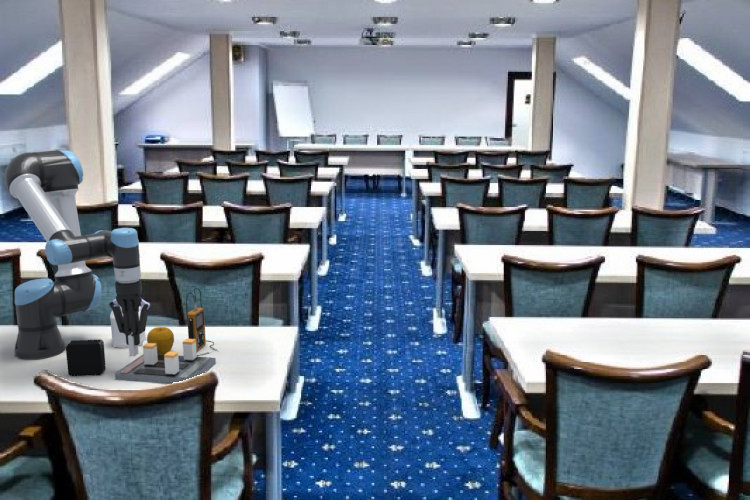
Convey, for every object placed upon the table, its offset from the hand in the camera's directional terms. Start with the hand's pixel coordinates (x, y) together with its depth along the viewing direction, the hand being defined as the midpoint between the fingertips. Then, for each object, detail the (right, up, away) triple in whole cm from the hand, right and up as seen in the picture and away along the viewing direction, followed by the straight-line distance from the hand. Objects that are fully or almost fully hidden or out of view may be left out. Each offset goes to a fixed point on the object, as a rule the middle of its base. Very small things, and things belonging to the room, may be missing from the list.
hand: (134, 354), depth 233 cm
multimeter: (+19, -1, +18) cm, 26 cm away
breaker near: (+14, -4, -8) cm, 17 cm away
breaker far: (+16, -1, +3) cm, 17 cm away
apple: (+4, -2, +14) cm, 15 cm away
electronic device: (-13, -6, -2) cm, 15 cm away
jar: (-10, 0, +25) cm, 27 cm away
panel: (+10, -5, -1) cm, 11 cm away
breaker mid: (+5, -2, -1) cm, 6 cm away
